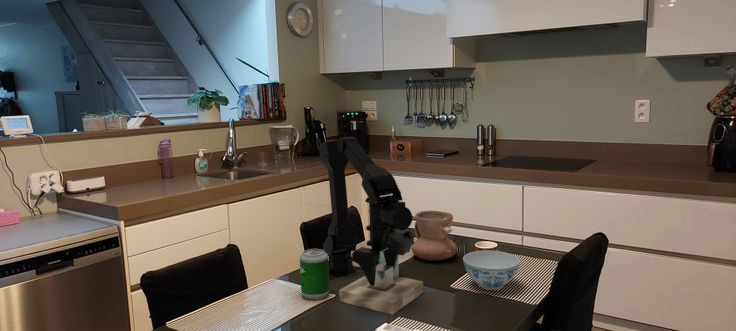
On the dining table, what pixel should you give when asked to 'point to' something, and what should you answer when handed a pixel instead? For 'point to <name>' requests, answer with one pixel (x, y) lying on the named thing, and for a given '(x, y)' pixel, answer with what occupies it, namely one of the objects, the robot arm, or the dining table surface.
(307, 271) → the soda can
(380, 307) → the socket plate
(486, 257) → the chinaware
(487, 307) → the dining table surface
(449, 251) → the ceramic jug
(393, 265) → the robot arm
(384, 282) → the square peg
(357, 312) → the dining table surface
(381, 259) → the round peg
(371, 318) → the dining table surface
